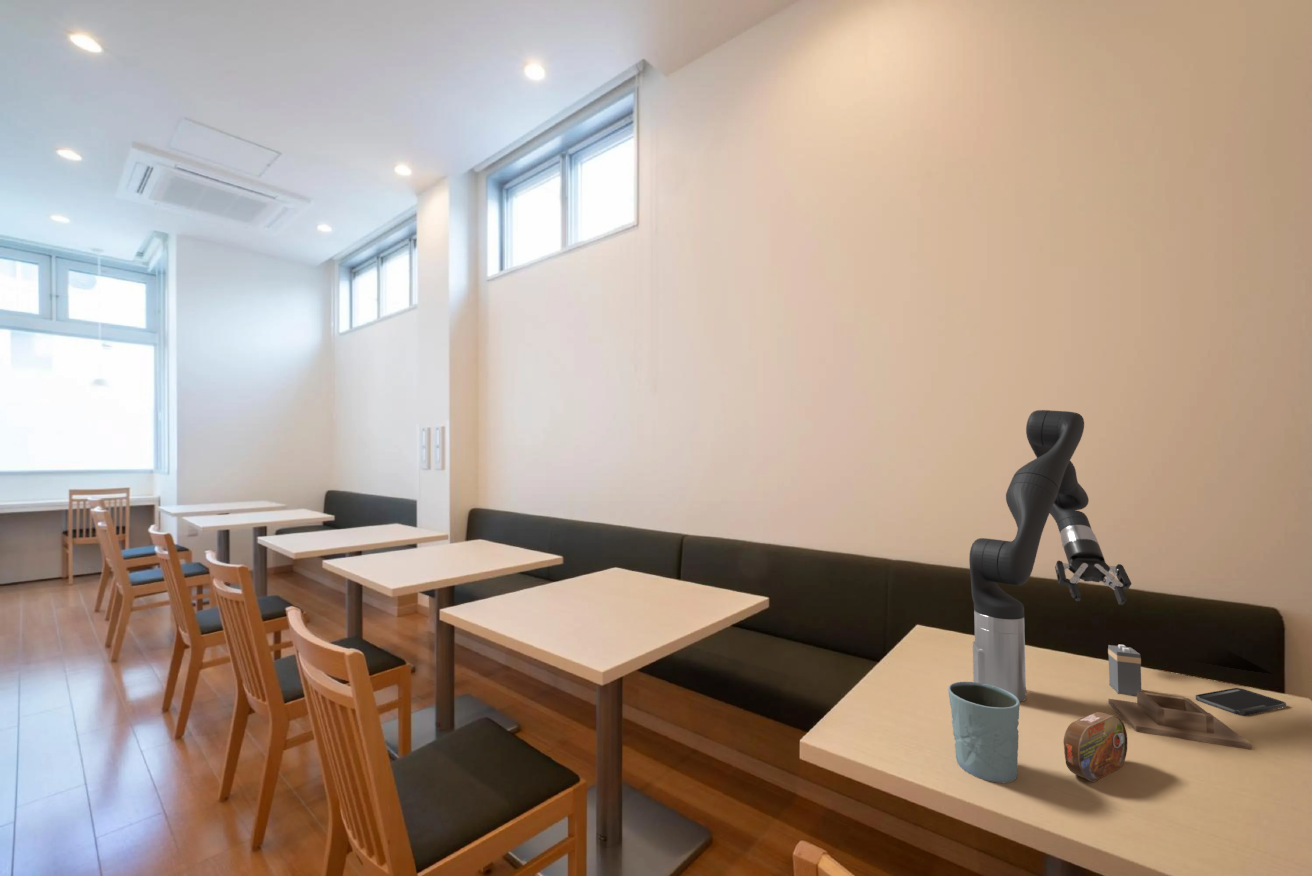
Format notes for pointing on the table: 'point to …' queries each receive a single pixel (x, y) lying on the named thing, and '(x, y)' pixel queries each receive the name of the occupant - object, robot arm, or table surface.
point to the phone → (1240, 701)
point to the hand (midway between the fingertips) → (1100, 601)
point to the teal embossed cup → (985, 730)
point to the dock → (1176, 719)
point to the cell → (1124, 669)
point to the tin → (1095, 745)
